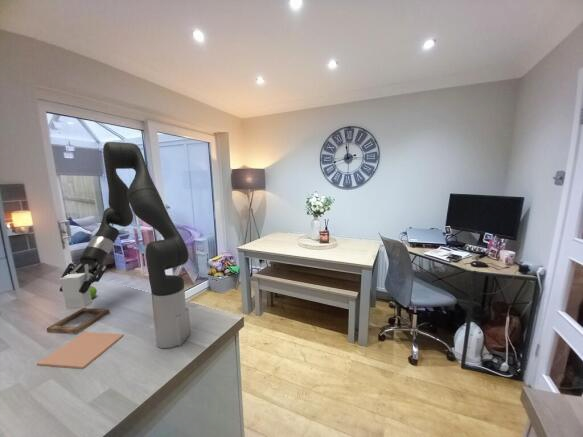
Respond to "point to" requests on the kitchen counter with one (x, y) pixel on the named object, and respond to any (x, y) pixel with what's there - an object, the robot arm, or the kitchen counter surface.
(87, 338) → the terracotta mat
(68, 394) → the kitchen counter surface
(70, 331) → the walnut collar
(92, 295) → the snail figurine
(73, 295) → the skincare box
